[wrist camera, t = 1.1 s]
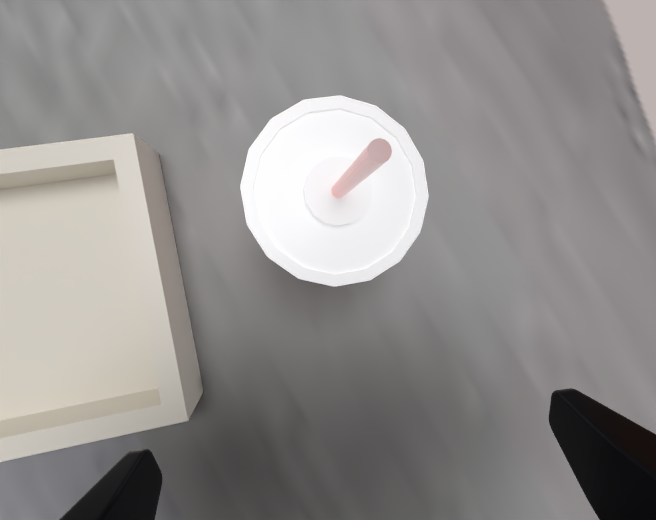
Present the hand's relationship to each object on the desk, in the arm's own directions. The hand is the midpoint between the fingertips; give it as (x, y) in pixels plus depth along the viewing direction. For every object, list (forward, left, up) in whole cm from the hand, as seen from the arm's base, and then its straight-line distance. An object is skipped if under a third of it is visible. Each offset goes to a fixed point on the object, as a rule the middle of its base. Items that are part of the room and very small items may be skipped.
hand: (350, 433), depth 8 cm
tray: (+4, +13, -13) cm, 18 cm away
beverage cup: (+6, -1, -13) cm, 14 cm away
